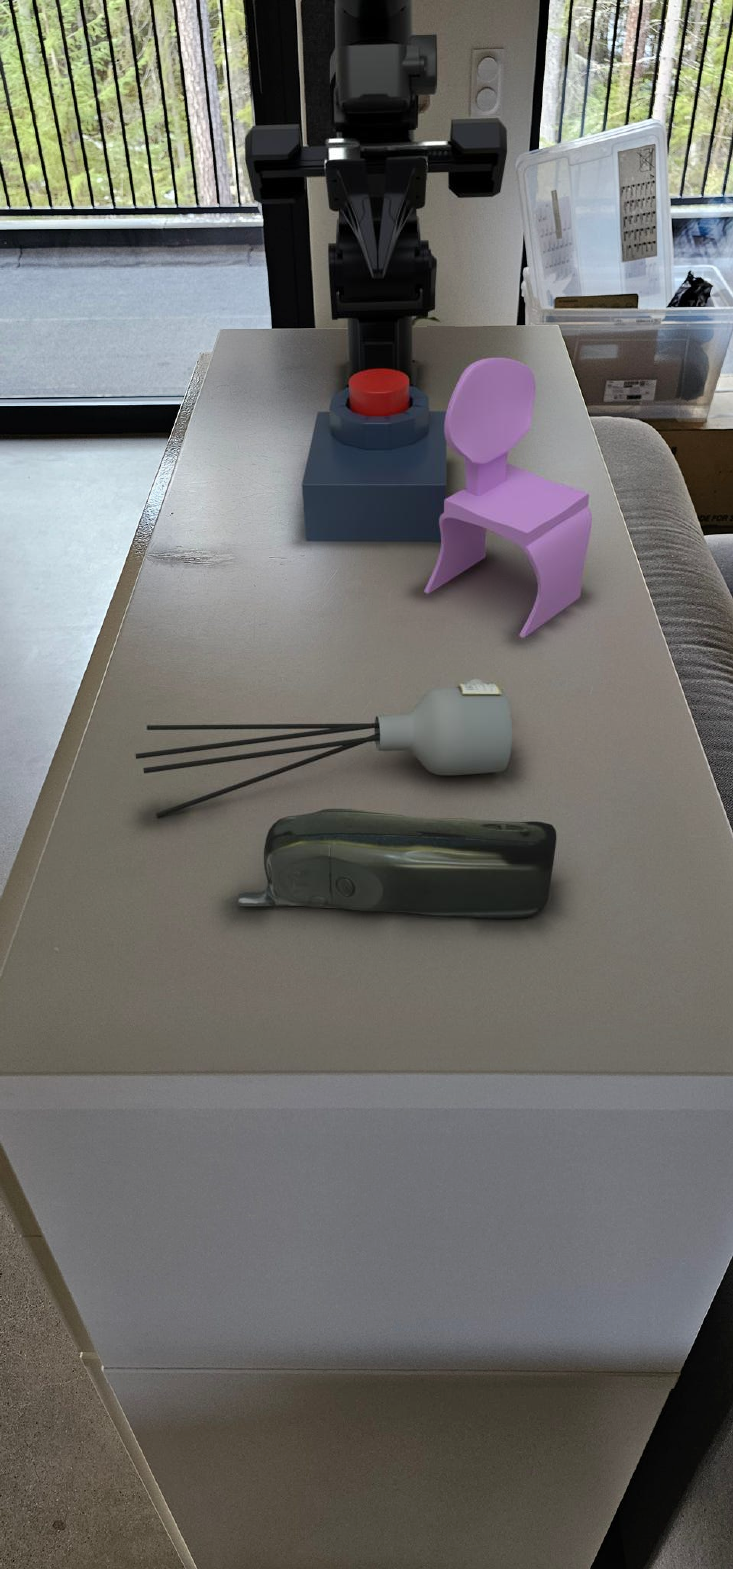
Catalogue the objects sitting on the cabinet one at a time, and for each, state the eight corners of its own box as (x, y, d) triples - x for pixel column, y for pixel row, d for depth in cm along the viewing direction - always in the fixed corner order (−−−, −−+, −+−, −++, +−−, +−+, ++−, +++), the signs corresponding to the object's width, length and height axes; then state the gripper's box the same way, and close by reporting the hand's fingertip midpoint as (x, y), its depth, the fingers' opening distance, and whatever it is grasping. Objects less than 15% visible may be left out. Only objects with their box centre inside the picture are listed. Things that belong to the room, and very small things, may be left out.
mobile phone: (556, 807, 51) (235, 801, 52) (562, 854, 49) (227, 847, 49) (545, 880, 55) (243, 874, 55) (550, 927, 52) (236, 920, 53)
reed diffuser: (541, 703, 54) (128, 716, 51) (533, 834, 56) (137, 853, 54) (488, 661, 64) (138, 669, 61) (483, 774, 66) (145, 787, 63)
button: (352, 395, 83) (351, 368, 82) (410, 395, 83) (410, 368, 82) (347, 420, 80) (346, 392, 79) (408, 420, 80) (408, 392, 78)
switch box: (321, 461, 89) (316, 382, 84) (445, 461, 88) (447, 381, 84) (306, 542, 79) (299, 457, 75) (444, 542, 79) (446, 457, 74)
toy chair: (519, 649, 69) (538, 418, 59) (413, 599, 73) (413, 376, 63) (595, 593, 73) (624, 370, 63) (490, 549, 78) (502, 334, 68)
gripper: (232, -11, 73) (235, 220, 73) (513, -21, 73) (518, 211, 72) (253, 98, 84) (256, 299, 84) (497, 90, 84) (501, 292, 83)
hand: (378, 275), depth 80 cm, fingers closed
